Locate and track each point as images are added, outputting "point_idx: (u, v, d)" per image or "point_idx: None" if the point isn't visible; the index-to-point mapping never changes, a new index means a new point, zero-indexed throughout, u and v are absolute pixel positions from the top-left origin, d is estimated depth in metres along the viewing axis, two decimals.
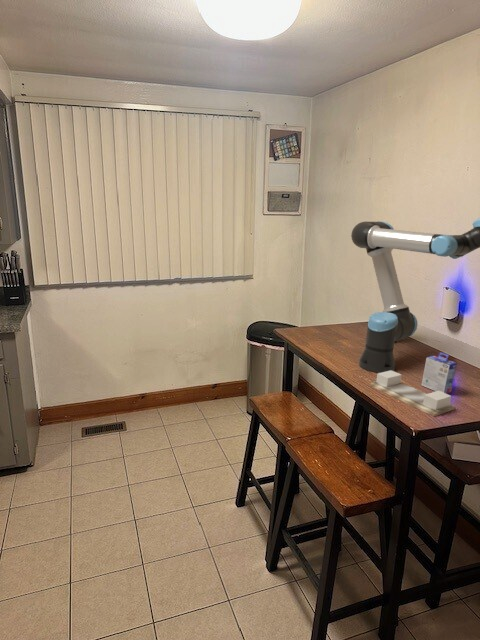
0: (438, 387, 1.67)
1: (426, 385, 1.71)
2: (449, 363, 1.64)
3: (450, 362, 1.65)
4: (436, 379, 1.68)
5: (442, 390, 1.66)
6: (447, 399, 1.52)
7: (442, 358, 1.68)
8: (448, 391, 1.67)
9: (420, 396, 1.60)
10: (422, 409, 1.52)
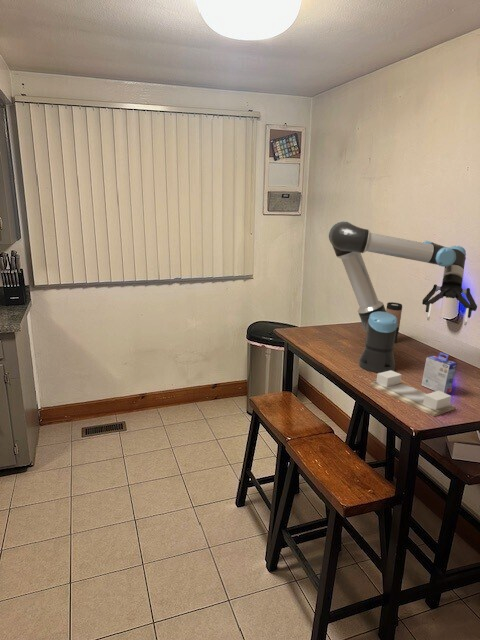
0: (438, 387, 1.67)
1: (426, 385, 1.71)
2: (449, 363, 1.64)
3: (450, 362, 1.65)
4: (436, 379, 1.68)
5: (442, 390, 1.66)
6: (447, 399, 1.52)
7: (442, 358, 1.68)
8: (448, 391, 1.67)
9: (420, 396, 1.60)
10: (422, 409, 1.52)
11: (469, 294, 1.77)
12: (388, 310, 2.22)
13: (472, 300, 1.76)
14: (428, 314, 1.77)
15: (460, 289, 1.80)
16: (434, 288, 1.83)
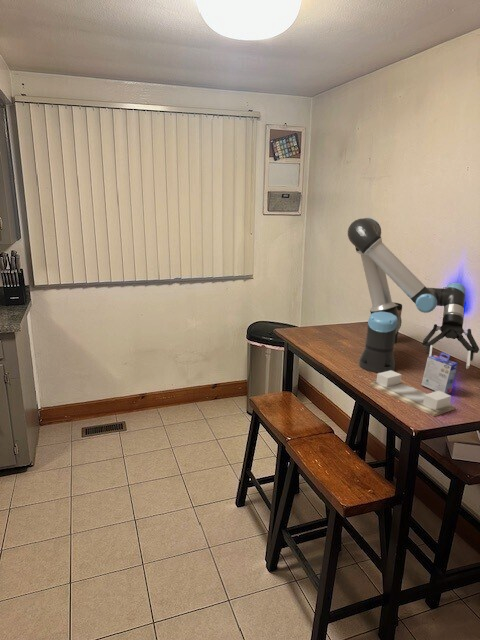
0: (439, 387, 1.67)
1: (427, 385, 1.71)
2: (451, 364, 1.63)
3: (451, 363, 1.65)
4: (436, 379, 1.67)
5: (443, 390, 1.66)
6: (447, 399, 1.52)
7: (443, 358, 1.67)
8: (448, 391, 1.67)
9: (420, 396, 1.60)
10: (422, 409, 1.52)
11: (470, 335, 1.73)
12: None
13: (474, 342, 1.71)
14: None
15: (461, 330, 1.75)
16: (434, 328, 1.78)
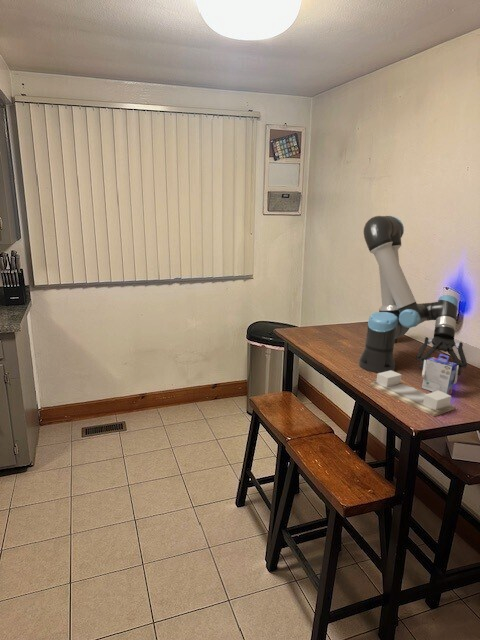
0: (440, 389, 1.66)
1: (427, 387, 1.69)
2: (451, 364, 1.63)
3: (451, 363, 1.64)
4: (437, 381, 1.66)
5: (444, 392, 1.64)
6: (447, 399, 1.52)
7: (442, 359, 1.66)
8: (449, 392, 1.66)
9: (420, 396, 1.60)
10: (422, 409, 1.52)
11: (461, 349, 1.70)
12: None
13: (463, 356, 1.68)
14: (423, 372, 1.69)
15: (452, 342, 1.72)
16: (426, 341, 1.75)
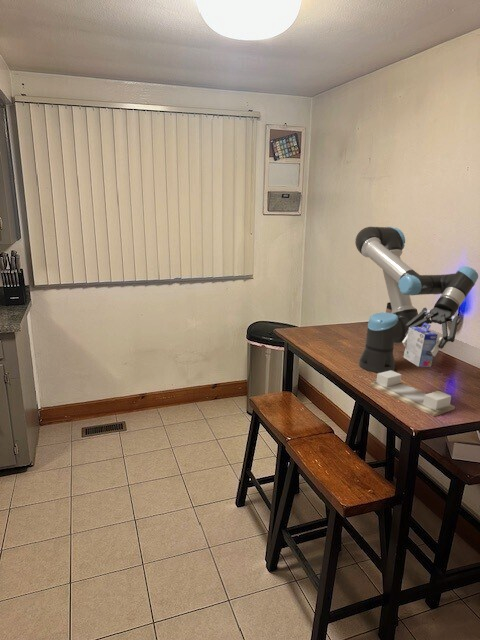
0: (415, 359, 1.55)
1: (407, 357, 1.60)
2: (426, 333, 1.51)
3: (429, 333, 1.52)
4: (414, 350, 1.56)
5: (417, 362, 1.54)
6: (447, 399, 1.52)
7: (424, 329, 1.55)
8: (426, 365, 1.54)
9: (420, 396, 1.60)
10: (422, 409, 1.52)
11: (453, 322, 1.54)
12: (388, 310, 2.22)
13: (452, 329, 1.52)
14: (404, 340, 1.61)
15: (448, 315, 1.57)
16: (422, 311, 1.64)
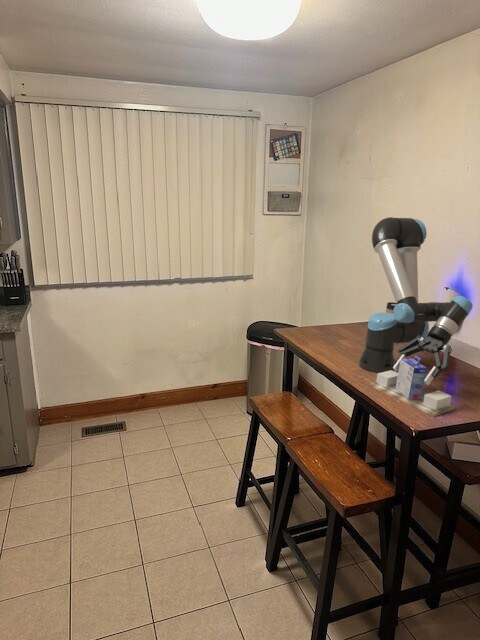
0: (405, 391, 1.58)
1: (398, 388, 1.63)
2: (416, 367, 1.54)
3: (419, 366, 1.55)
4: (404, 382, 1.59)
5: (407, 394, 1.57)
6: (447, 399, 1.52)
7: (414, 361, 1.58)
8: (416, 397, 1.56)
9: None
10: (422, 409, 1.52)
11: (446, 352, 1.55)
12: (388, 310, 2.22)
13: (445, 359, 1.54)
14: (394, 365, 1.64)
15: (440, 344, 1.59)
16: (416, 339, 1.66)
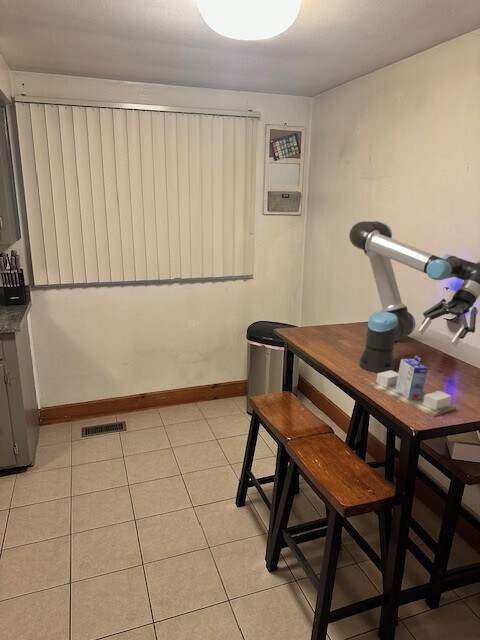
0: (405, 391, 1.58)
1: (398, 388, 1.63)
2: (416, 367, 1.54)
3: (419, 366, 1.55)
4: (404, 382, 1.59)
5: (407, 394, 1.57)
6: (447, 399, 1.52)
7: (415, 361, 1.58)
8: (416, 397, 1.56)
9: None
10: (422, 409, 1.52)
11: (472, 313, 1.59)
12: None
13: (471, 320, 1.57)
14: (420, 328, 1.68)
15: (466, 307, 1.62)
16: (440, 302, 1.69)
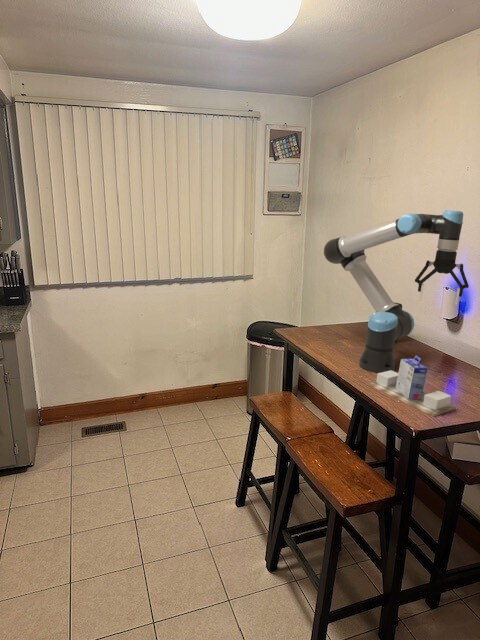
0: (405, 391, 1.58)
1: (398, 388, 1.63)
2: (416, 367, 1.54)
3: (419, 366, 1.55)
4: (404, 382, 1.59)
5: (407, 394, 1.57)
6: (447, 399, 1.52)
7: (415, 361, 1.58)
8: (416, 397, 1.56)
9: None
10: (422, 409, 1.52)
11: (462, 272, 1.74)
12: None
13: (464, 279, 1.74)
14: (420, 297, 1.82)
15: (453, 266, 1.75)
16: (427, 266, 1.79)
